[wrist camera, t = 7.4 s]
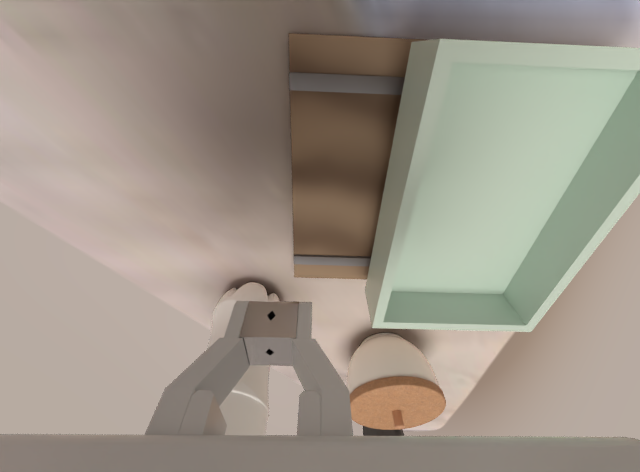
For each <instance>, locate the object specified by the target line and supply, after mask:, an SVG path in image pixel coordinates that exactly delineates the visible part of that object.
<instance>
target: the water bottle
mask: <svg viewBox="0 0 640 472" xmlns="http://www.w3.org/2000/svg"><path fill="white" fill-rule="evenodd" d="M236 301H260V302H280V300H279V298H278V296H277V295H276V294H275V293H272V294H270V295H268V296H267V292H266V289H265V287H264V286H263V285H261V284H259V283H254V282H249V283H246V284H244V285H243V286H241V287H240V288H239V289H238V290H237V289H236V288H232V289H231V290H229V291H227V292H226V293H225V294H224V295H223V296H222V297H221V299H220V300H219V302H218V304H217V305H216V307H215V309H214V312H213V315H212V326H211V334H210V339H209V343H208V348H209V347H210V346H211V345H212V344H213V343H215V342H216V341H217V340H218V339H219V338H224V335H225V332H226V329H227V326H228V322H229V319H230V316H231V313H232V310H233V307H234V304H235V303H236ZM208 348H207V349H208ZM269 370H270V365H255V366H249V368H248V370H247V371H246V372H245V374H244V375H243V376H242V378H241V379H240V380H239V382H238V383H237V384H236V386H235V387H234V388H233V389H232V391H231V392H230V393H229V395H228V396H227V397H226V399H225V400H224V401H223V403H222V404H221V405H220V407H219V408H220V410H221V412H222V415H223V417H224V419H225V422H226V424H227V427H226V431H225V435H265V433H266V426H267V419H268V417H269V405H268V381H269Z"/></svg>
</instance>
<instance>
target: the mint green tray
mask: <svg viewBox="0 0 640 472" xmlns="http://www.w3.org/2000/svg"><path fill="white" fill-rule="evenodd" d="M639 193H640V48H628V47H607V46H585V45H563V44H542V43H520V42H499V41H477V40H456V39H433V40H424V41H415V42H411V48H410V53H409V58H408V64H407V69H406V74H405V80H404V85H403V90H402V96H401V101H400V106H399V112H398V117H397V122H396V128H395V133H394V138H393V144H392V149H391V154H390V160H389V165H388V170H387V176H386V181H385V186H384V192H383V197H382V202H381V208H380V213H379V218H378V224H377V229H376V234H375V240H374V245H373V250H372V256H371V261H370V266H369V272H368V277H367V282H366V288H365V293H366V299H367V304H368V309H369V314H370V320H371V325H372V328H388V329H431V330H475V331H518V332H531V331H532V330H533V329H534V327H535V326H536V325H537V323H538V322H539V321H540V320H541V318H542V317H543V316H544V315H545V313H546V312H547V311H548V309H549V308H550V307H551V306H552V304H553V303H554V302H555V301H556V299H557V298H558V297H559V295H560V294H561V293H562V292H563V290H564V289H565V288H566V287H567V285H568V284H569V283H570V281H571V280H572V279H573V277H574V276H575V275H576V274H577V272H578V271H579V270H580V269H581V267H582V266H583V265H584V263H585V262H586V261H587V260H588V258H589V257H590V256H591V255H592V253H593V252H594V251H595V249H596V248H597V247H598V246H599V244H600V243H601V242H602V240H603V239H604V238H605V237H606V235H607V234H608V233H609V232H610V230H611V229H612V228H613V226H614V225H615V224H616V223H617V221H618V220H619V219H620V218H621V216H622V215H623V214H624V212H625V211H626V210H627V209H628V207H629V206H630V205H631V203H632V202H633V201H634V199H635V198H636V197H637V196H638V194H639Z"/></svg>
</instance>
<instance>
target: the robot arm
mask: <svg viewBox="0 0 640 472" xmlns="http://www.w3.org/2000/svg"><path fill="white" fill-rule="evenodd" d="M311 330H312V302H260V301H236V303H235V304H234V307H233V310H232V313H231V316H230V319H229V322H228V326H227V329H226V332H225V335H224V338H219V339H218V340H217V341H216V342H215V343H213V344H212V345H211V346H210V347H209V348H208V349H207V350H206V351H205V352H204V353H203V354H202V355H201V356H199V357H198V358H197V359H196V360H195V361H194V362H193V363H192V364H191V365H190V366H189V367H188V368H187V369H186V370H184V371H183V372H182V373H181V374H180V375H179V376H178V377H177V378H176V379H175V380H174V381H173V382H172V383H171V384H170V385H169V386H167V387H166V388H165V390H164V392H163V395H162V397H161V399H160V401H159V403H158V406H157V408H156V410H155V412H154V415H153V417H152V419H151V421H150V424H149V426H148V428H147V430H146V433H145V435H89V434H88V435H85V434H83V435H82V434H81V435H80V434H75V435H74V434H0V472H640V440H638V439H635V438H627V437H509V436H508V437H504V436H501V437H500V436H353V429H352V418H351V407H350V395H349V390H348V388H347V387H346V385H345V384H344V382H343V381H342V379H341V378H340V376H339V375H338V373H337V372H336V370H335V368H334V367H333V365H332V364H331V362H330V361H329V359H328V358H327V356H326V355H325V353H324V352H323V350H322V349H321V347H320V346H319V344H318V343H317V341H316V340H315V339H311ZM255 365H279V366H293V367H294V369H295V372H296V374H297V376H298V378H299V380H300V382H301V384H302V386H303V388H304V390H305V391H303V392H302V393H301V394H300V397H299V412H298V426H297V435H296V436H295V435H293V436H292V435H225V431H226V427H227V424H226V422H225V419H224V417H223V415H222V412H221V410H220V408H219V407H220V405H221V404H222V403H223V401H224V400H225V399H226V397H227V396H228V395H229V393H230V392H231V391H232V389H233V388H234V387H235V386H236V384H237V383H238V382H239V380H240V379H241V378H242V376H243V375H244V374H245V372H246V371H247V370H248V368H249V366H255Z"/></svg>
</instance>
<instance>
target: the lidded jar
mask: <svg viewBox="0 0 640 472" xmlns="http://www.w3.org/2000/svg"><path fill="white" fill-rule="evenodd" d="M347 388H348V390H349V395H350V407H351V418H352V420H353V421H355V422H356V423H358V424H360V425H363V426H365V427H369V428H374V429H382V430H397V429H398V430H400V429H405V428H411V427H415V426H419V425H422V424H425V423H427V422H429V421H431V420H433V419H435V418H436V417H438V416H439V415H440V414H441V413H442V412H443V410H444V408H445V406H446V400H445V397H444V394H443V392H442V390H441V389H440V387H439V384H438V381H437V379H436V376H435V374H434V371H433V369H432V367H431V365H430V364H429V362H428V360H427V359H426V357H425V356H424V355H423V353H422V352H421V351H420V350H419V349H418V348H417V347H416V346H414V345H413V344H412V343H410V342H408V341H407V340H404V339H403V338H402V337H401V336H399V335H397V334H393V333H378V334H374V335H371V336H369V337H367V338H366V339H365V340H363V342H362V343H361V345H360V346H359V347H358V349H357V350H356V351H355V352H354V354H353V356H352V358H351V360H350V363H349V367H348V373H347Z"/></svg>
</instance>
